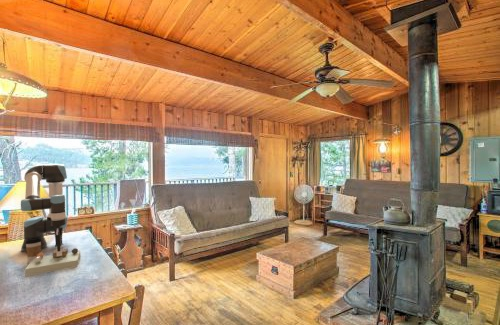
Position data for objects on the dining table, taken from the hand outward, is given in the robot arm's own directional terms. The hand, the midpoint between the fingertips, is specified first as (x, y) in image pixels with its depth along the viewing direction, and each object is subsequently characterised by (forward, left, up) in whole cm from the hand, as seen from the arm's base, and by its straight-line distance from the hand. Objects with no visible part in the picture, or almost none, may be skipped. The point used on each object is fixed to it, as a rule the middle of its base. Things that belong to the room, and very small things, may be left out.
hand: (59, 255), depth 166 cm
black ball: (-3, +8, +1) cm, 9 cm away
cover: (-4, 0, -1) cm, 4 cm away
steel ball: (+4, -10, +1) cm, 11 cm away
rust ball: (-5, -10, +1) cm, 12 cm away
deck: (+2, -2, -5) cm, 6 cm away
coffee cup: (-16, -16, -5) cm, 23 cm away
